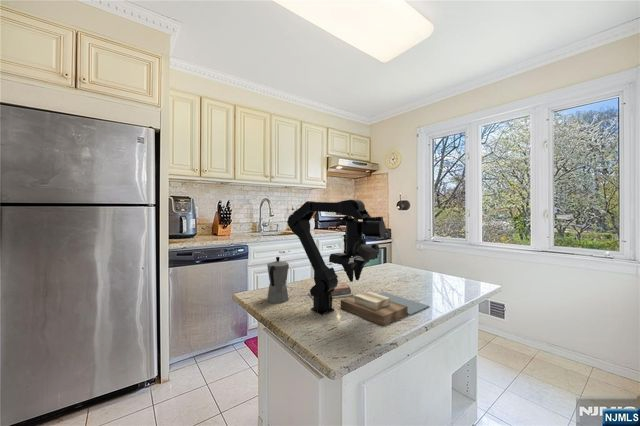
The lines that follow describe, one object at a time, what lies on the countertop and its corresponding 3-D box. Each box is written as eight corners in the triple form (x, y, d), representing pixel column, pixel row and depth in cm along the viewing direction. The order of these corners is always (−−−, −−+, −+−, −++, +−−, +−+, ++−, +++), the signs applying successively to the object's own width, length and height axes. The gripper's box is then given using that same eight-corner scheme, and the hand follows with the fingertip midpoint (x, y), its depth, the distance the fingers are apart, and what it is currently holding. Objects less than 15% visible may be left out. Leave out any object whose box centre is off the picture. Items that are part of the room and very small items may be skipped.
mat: (410, 315, 93) (410, 314, 93) (363, 299, 110) (363, 298, 110) (429, 307, 101) (429, 305, 101) (383, 293, 118) (383, 291, 118)
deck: (383, 325, 85) (383, 316, 85) (340, 307, 101) (340, 300, 100) (407, 314, 94) (407, 306, 94) (365, 299, 109) (365, 292, 109)
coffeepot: (272, 294, 117) (272, 253, 117) (292, 295, 116) (292, 254, 115) (259, 306, 102) (259, 260, 102) (282, 308, 100) (282, 261, 100)
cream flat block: (375, 310, 90) (375, 302, 90) (354, 302, 98) (354, 295, 98) (390, 304, 95) (390, 298, 95) (368, 297, 103) (368, 291, 103)
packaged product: (343, 280, 123) (353, 286, 114) (343, 290, 123) (353, 297, 114) (307, 284, 117) (314, 290, 108) (307, 294, 117) (314, 302, 108)
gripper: (352, 240, 78) (352, 291, 79) (390, 236, 90) (390, 281, 90) (328, 237, 87) (328, 283, 87) (365, 233, 99) (365, 275, 99)
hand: (354, 280), depth 91 cm, fingers open, 3 cm apart
